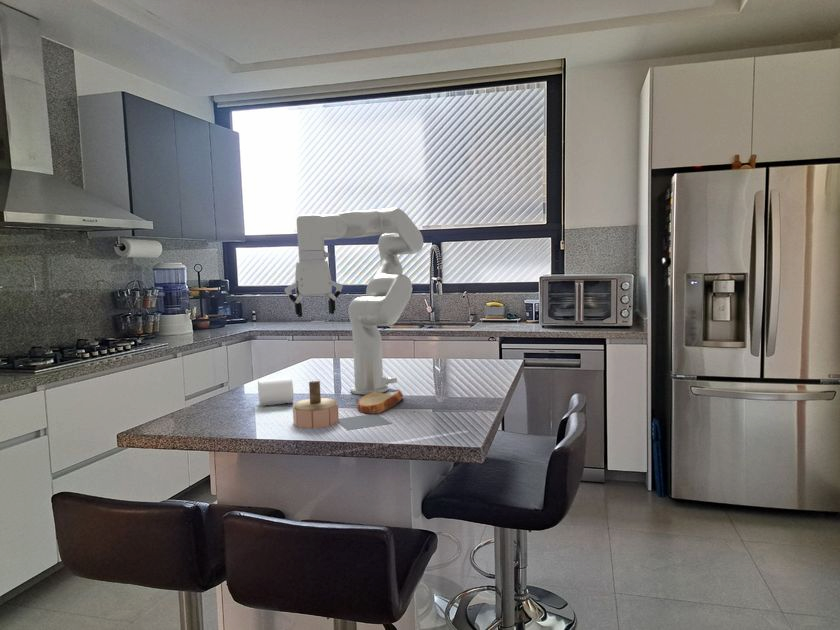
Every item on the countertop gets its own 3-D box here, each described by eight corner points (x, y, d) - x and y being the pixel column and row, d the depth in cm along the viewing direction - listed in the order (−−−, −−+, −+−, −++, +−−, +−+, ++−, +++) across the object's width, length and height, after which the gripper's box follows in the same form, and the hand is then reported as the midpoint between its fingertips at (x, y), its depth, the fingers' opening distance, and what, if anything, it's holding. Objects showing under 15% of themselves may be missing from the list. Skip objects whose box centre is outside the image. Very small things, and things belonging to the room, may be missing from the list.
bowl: (331, 416, 162) (330, 399, 162) (342, 426, 152) (341, 407, 151) (290, 422, 157) (290, 404, 157) (300, 432, 147) (299, 412, 147)
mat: (376, 415, 161) (376, 413, 161) (392, 425, 151) (392, 423, 150) (334, 421, 157) (334, 419, 157) (347, 432, 146) (347, 430, 146)
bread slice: (368, 415, 159) (368, 401, 159) (341, 405, 175) (340, 393, 174) (423, 405, 169) (423, 392, 169) (393, 397, 184) (392, 385, 184)
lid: (330, 399, 161) (329, 376, 161) (341, 407, 151) (340, 383, 151) (290, 404, 157) (289, 380, 156) (299, 412, 147) (298, 387, 146)
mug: (294, 405, 178) (292, 379, 177) (260, 408, 174) (258, 382, 174) (289, 397, 189) (288, 373, 188) (258, 400, 186) (256, 376, 185)
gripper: (336, 256, 177) (340, 311, 179) (279, 258, 170) (284, 316, 172) (344, 255, 171) (347, 313, 172) (285, 258, 163) (289, 318, 165)
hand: (315, 315), depth 172 cm, fingers open, 9 cm apart
